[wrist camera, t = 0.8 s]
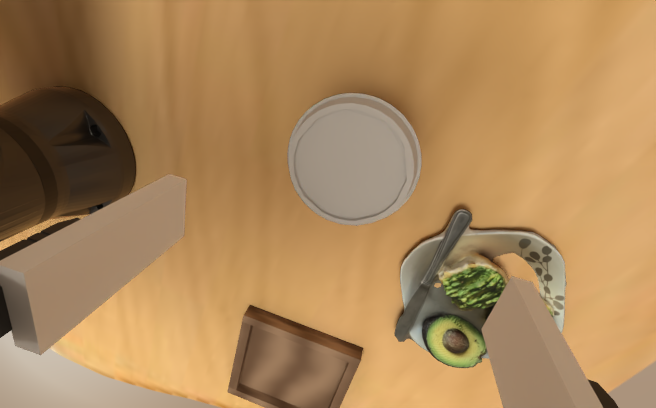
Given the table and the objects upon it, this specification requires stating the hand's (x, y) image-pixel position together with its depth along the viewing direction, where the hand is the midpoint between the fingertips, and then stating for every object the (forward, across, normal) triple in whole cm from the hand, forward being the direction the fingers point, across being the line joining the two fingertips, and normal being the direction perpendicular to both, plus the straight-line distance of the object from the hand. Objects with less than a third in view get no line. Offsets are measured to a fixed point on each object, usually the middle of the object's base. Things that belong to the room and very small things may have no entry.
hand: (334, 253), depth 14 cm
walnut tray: (+22, -2, -35) cm, 42 cm away
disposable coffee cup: (+23, -1, 0) cm, 23 cm away
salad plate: (+23, +16, -15) cm, 31 cm away
